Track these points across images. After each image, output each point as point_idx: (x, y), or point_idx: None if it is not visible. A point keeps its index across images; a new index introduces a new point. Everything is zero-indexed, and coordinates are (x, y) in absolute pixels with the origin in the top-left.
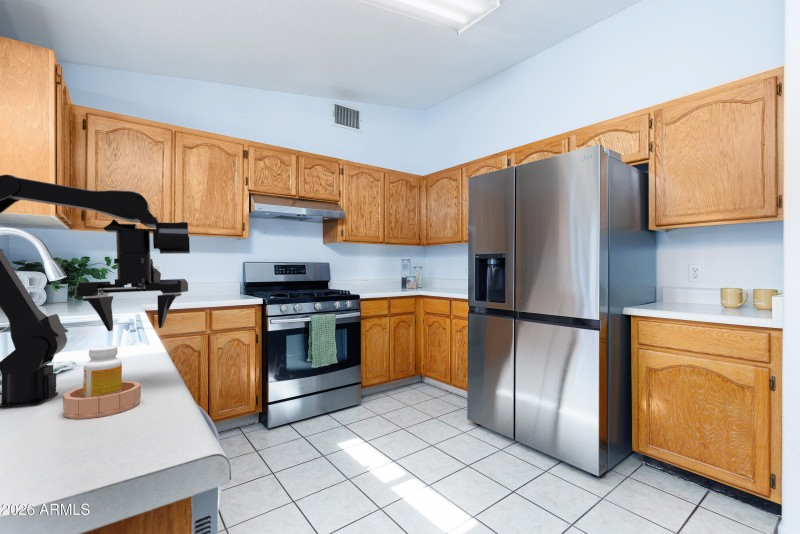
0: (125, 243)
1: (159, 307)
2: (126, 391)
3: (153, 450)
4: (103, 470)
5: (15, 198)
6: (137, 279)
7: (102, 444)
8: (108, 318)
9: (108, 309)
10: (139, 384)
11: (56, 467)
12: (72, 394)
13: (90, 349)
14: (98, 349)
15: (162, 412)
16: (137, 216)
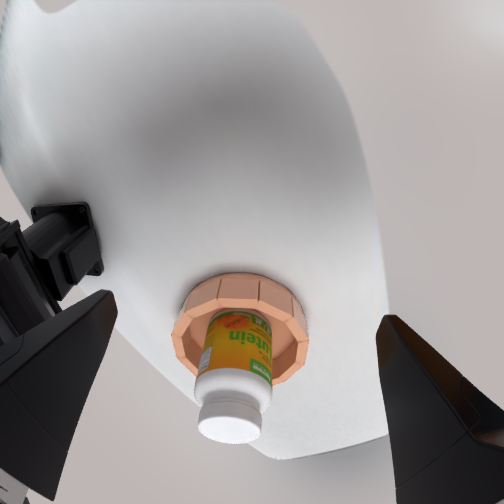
0: None
1: (402, 469)
2: (292, 372)
3: (344, 431)
4: (312, 444)
5: None
6: None
7: (296, 420)
8: (87, 372)
9: (47, 401)
10: (305, 337)
11: (274, 439)
12: (184, 345)
13: (207, 436)
14: (228, 441)
15: (349, 364)
16: None
